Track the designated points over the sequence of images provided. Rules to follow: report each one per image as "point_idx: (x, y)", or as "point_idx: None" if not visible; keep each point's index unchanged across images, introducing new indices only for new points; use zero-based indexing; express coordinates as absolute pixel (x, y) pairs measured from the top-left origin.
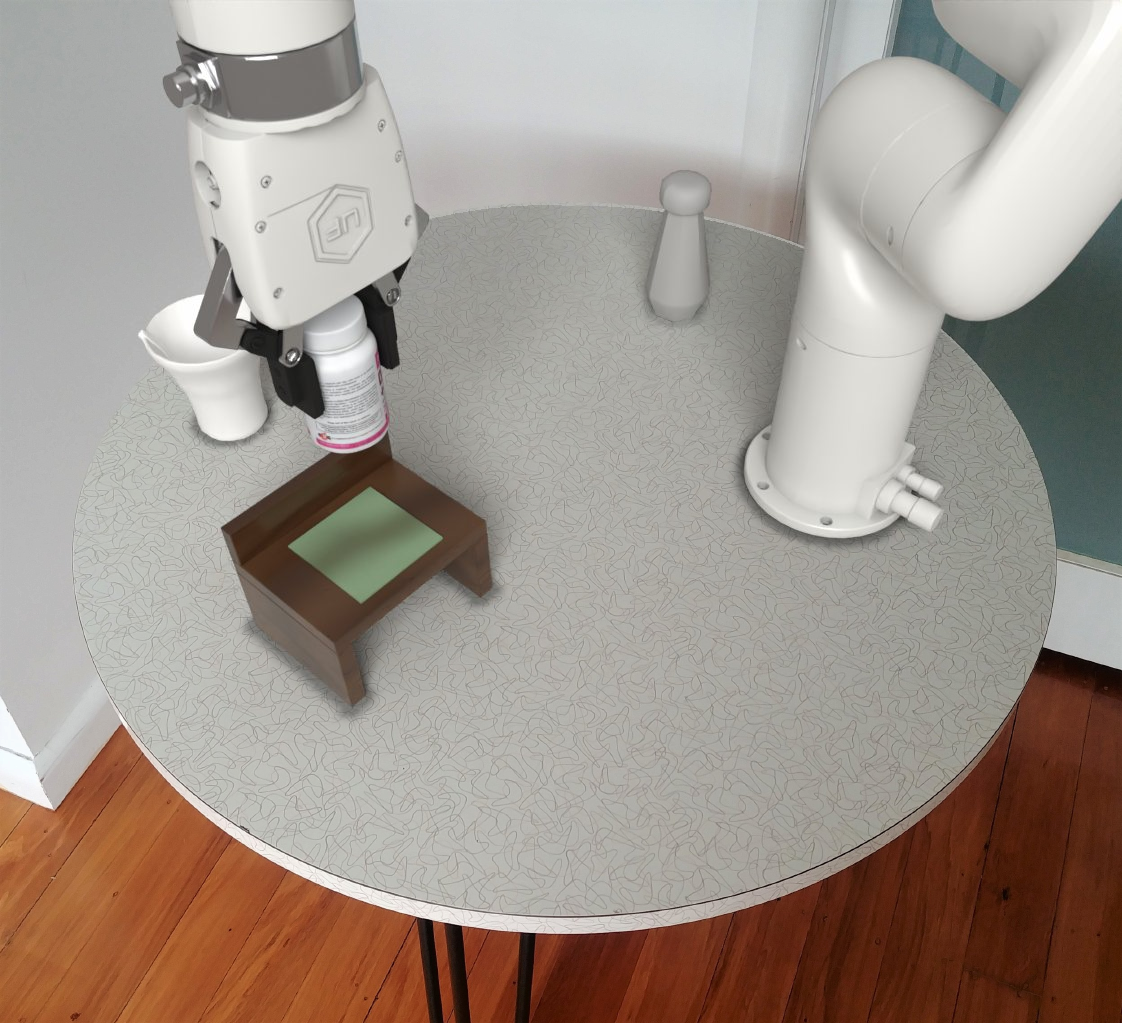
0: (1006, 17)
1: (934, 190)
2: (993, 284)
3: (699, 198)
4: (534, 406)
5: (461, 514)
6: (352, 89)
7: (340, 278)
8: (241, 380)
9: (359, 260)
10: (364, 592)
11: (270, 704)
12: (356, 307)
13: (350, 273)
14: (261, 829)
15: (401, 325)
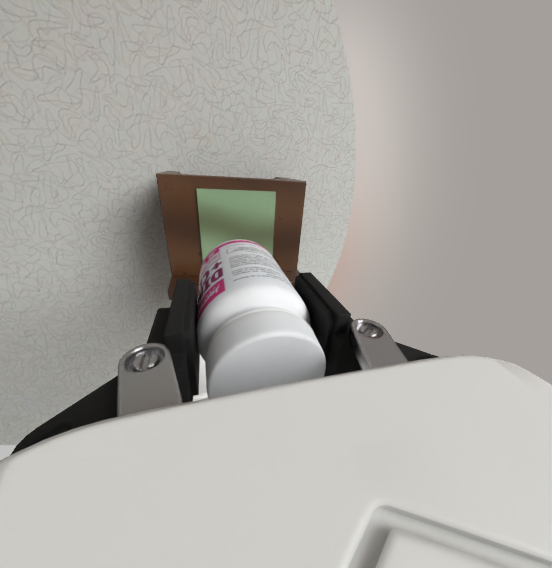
0: None
1: None
2: None
3: None
4: (20, 271)
5: (168, 195)
6: None
7: (402, 443)
8: (200, 380)
9: (326, 510)
10: (269, 195)
11: (305, 213)
12: (230, 364)
13: (356, 452)
14: (354, 161)
15: (68, 379)
